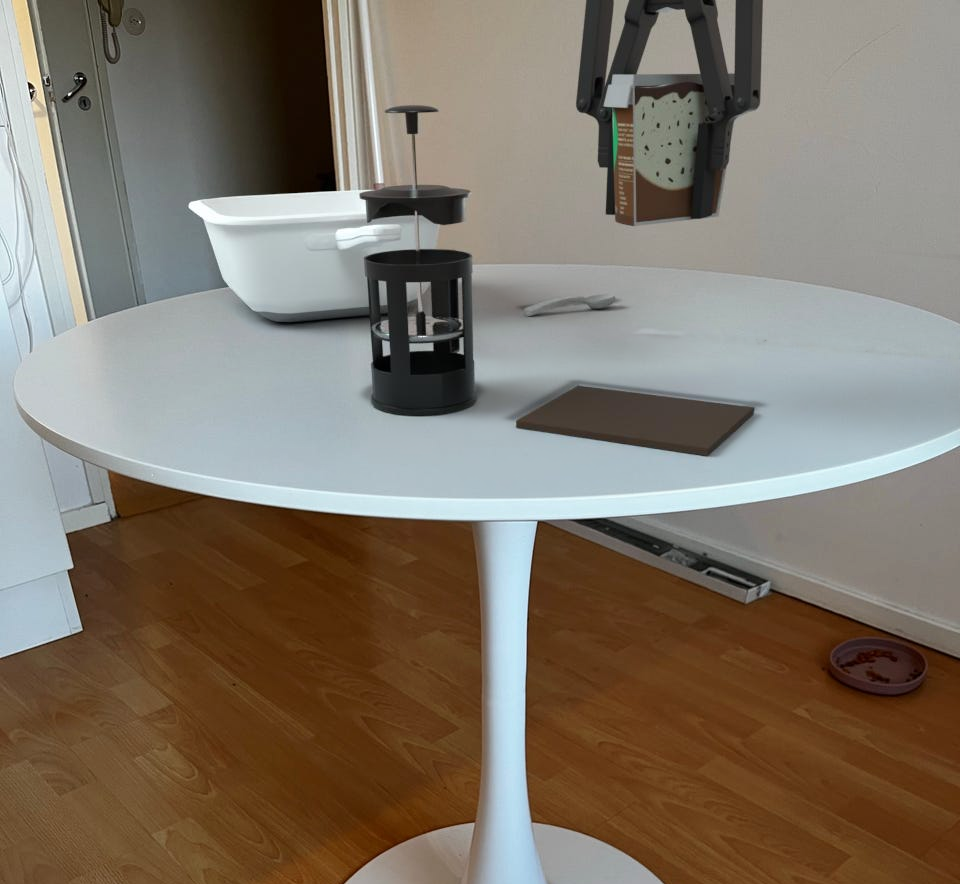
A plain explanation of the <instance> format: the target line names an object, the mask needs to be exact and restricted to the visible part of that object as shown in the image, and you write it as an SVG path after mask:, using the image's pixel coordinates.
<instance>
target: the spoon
mask: <svg viewBox="0 0 960 884" xmlns="http://www.w3.org/2000/svg"><path fill="white" fill-rule="evenodd" d="M615 302H616V295H615V294H613V293H599V294H593V295H590V296H583V295H572V296H570V295H569V296H563V297H557V298H553V299H550V300H546V301H543V302H540V303H537V304H533V305H530V306H527V307H524V310H523V311H524V316H526V317H532V316H535V315H537V314H540V313H542V312H546V311H547V310H551V309H553V308H556V307H560V306H563V305H567V304H572V303H581V304H584V305H587V306H588V307H589V308H590V309H596V310H599V309H605V308H608V307H610V306H611V305H613V304H614V303H615Z"/></svg>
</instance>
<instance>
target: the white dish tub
mask: <svg viewBox="0 0 960 884" xmlns="http://www.w3.org/2000/svg"><path fill="white" fill-rule="evenodd" d="M372 190H373V189H353V190H350V189H349V190H335V191H332V190H331V191H313V192H312V191H311V192H297V193H293V192H292V193H276V194H256V195H254V194H253V195H238V196H237V195H236V196H224V197H213V198H205V199H198V200H193V201H190V202H189V203H188V209H189V210H191V211H192V212H193V213H194V214H196V215H197V216H198V217H200V218H201V219H202V220H203V223H204V226H205V229H206V232H207V235H208V238H209V241H210V244H211V247H212V250H213V253H214V256H215V259H216V262H217V265H218V268H219V271H220V274H221V277H222V279H223V281H224V282H225V284H226V285H227V286H228V287H229V288H230V289H231V291H232V292H234V293H235V295H237V297H239V298H240V300H242V302H244V303H245V304H246V305H247V306H248V307H249V308H250V309H251V310H252V311H253V312H255V313H256V314H258V315H259V316H260V317H263V318H266V319H268V320H270V321H272V322H277V323H278V322H279V323H296V322H307V321H316V320H317V321H318V320H329V319H339V318H350V317H362V316H370V314H369V299H368V284H367V277H366V276H365V269H364V257H365V256H368V255H370V254H374V253H380V252H386V251H395V250H409V249H416V247H415V224H414V216H396V217H386V218H379V219H374V220H372V221H371V222H370V223H367V217H366V202H365V200H363V199H360V196H359V194H360V193H362V192H366V191H372ZM418 219H419V243H420V249H437V245H438V239H439V234H440V228H441V225H439V224H434V223H432V222H431V221H429V220H428V219H426V218H425V217H423V216H422V215H418ZM430 285H431V282H421V290H422V295H424V294H425V292H426V291H427V289H428V287H429V286H430ZM406 286H407V306H408V308H409V307H410V306H411V305H413V304H414V303H416V302H417V301H418V292H417V282H406ZM379 297H380V313H381V315H384V314H388V308H387V291H386V281H379Z"/></svg>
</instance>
